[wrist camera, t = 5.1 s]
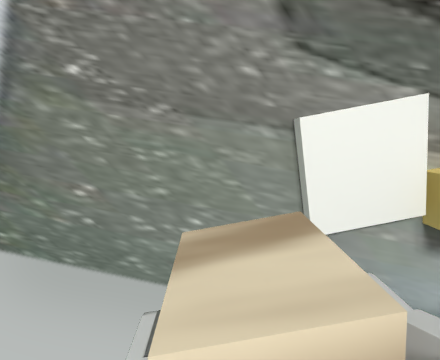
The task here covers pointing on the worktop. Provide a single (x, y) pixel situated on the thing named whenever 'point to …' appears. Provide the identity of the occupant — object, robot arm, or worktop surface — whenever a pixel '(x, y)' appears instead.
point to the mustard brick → (433, 199)
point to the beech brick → (274, 298)
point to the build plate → (364, 164)
